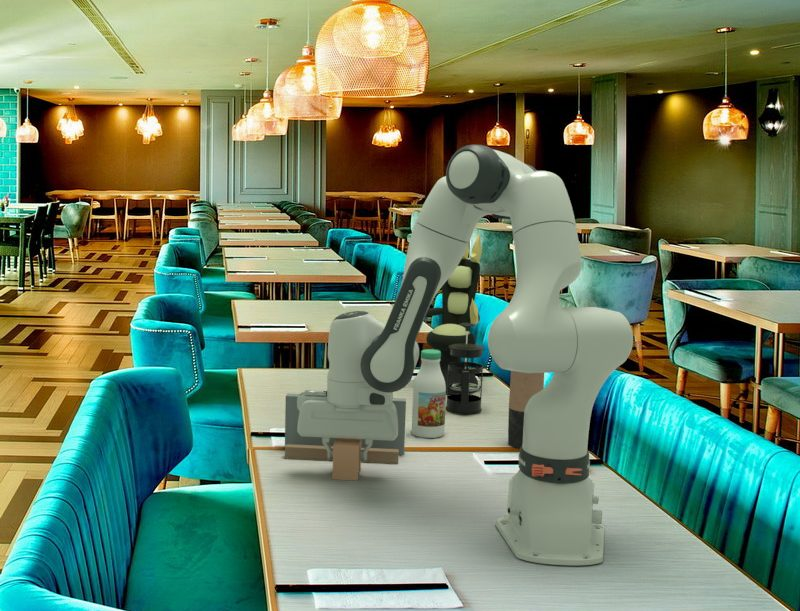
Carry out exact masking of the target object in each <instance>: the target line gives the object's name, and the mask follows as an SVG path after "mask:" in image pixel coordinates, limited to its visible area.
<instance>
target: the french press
mask: <svg viewBox="0 0 800 611" xmlns="http://www.w3.org/2000/svg"><path fill="white" fill-rule="evenodd" d="M459 325H461V326H465V331H466V344H452V345H449V348H450V349H451V353H450V354H451V355H452V356H455V357H461V359H462V358H463V359H464V361H462V362H452V363H449V364H448V383H447V394H446V405H445V412H448V413H451V414H453V415H460V416H461V415H462V416H473V415H478V414H480V413H482V411H483V409H482V397H483V396H482V392H483V372H484V366H483V364H482V363H478V362H472V361H467V359H475V358H480V357H482V356H483V354H482V353H483V351H484V349H485V347H484V346H483V345H479V344H476V343H475V344H467V339H468V331H469V326H471V327H476V324H473V323H460V324H459ZM455 367H462V368H455ZM468 368H469V369H468ZM449 371H451V372H454V373H460V374H461V383H452V384H449ZM470 374H474V375H477V374H480V385H479V384H478V385H477V384H472V383H469V375H470ZM448 384H449V385H448ZM448 386H449V389H451V390H454V391H458V392H461V394H448ZM479 391H480V396H478V395H475V394H470V393H474V392H479Z"/></svg>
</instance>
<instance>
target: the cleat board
mask: <svg viewBox="0 0 800 611" xmlns="http://www.w3.org/2000/svg"><path fill="white" fill-rule="evenodd" d="M299 394H300V393H286V395H285V405H284V406H285V410H284V411H285V412H284V413H285V416H284V418H285V419H284V421H285V422H284V423H285V424H284V459H288V460H289V459H290V460H291V459H292V460H293V459H294V460H310V461H311V460H312V461H332V462H333V459H327V450H326V448H325V446H324V445H323V443H322V437H303V436H300V434H299V433H298V432H297V427H298V418H299V413H300V411H299V410H298V408H297V397H298V395H299ZM303 395H305V394H303ZM313 396H314V395H313ZM392 402H393V403H394V405H395V406H396V410H397V417H398V436H397V438H396V439H395V440H393V441H391V440H373V443H372V446H371V447H370V449H369V450H368V452H367V460H361V463H373V464H374V463H375V464H376V463H379V464H399V456H405V445H406V444H405V443H406V442H405V441H406V439H405V437H406V414H407V413H406V412H407V398H403V397H402V398H397V397H393V400H392ZM335 439H336V438H330V441H329V444H330V446H331V448H333V444H334V442H335ZM366 446H367V444H365V439H361V450H364V449H365V447H366Z"/></svg>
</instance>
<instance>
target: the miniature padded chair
mask: <svg viewBox="0 0 800 611" xmlns="http://www.w3.org/2000/svg"><path fill="white" fill-rule="evenodd" d="M469 247H470V245H469V244H468V247H467V249H466V251H465V253H464V255H463V257H462V259H461V261H460V262H459V264H458V266H457V267H456V269H455V270H454V272H453V273H452V275H451V276H450V277H449V279H448V280H447V281H446V282H445V283H444V285H443V286H442V287H441V297H442V298H441V301H442V302H441V304H442V306H441V307H432V308H431V307H429V308H428V311H427V313H426V316H425V318H428V317H429V318H430V317H434V316H435V317H436V316H441V325H438V326H436V327H435V328H433V329H432V330H431V331H429V332H427V335H426V338H425V340H426V343H427V345H428V346H429V347H430V348H432V349H433V350H439V351H440V352H441V358H440V359H441V360H440V362H439V363H440V369H441V372H442V374H443V377H444V380H445V385H446V395H447V383H448V364H449V363H452V362H463V361H462V358H461V357H455V356H452V355H451V354H450V353H451V349H450V348H449V345H452V344H466V331H465V326H461V325H459V324H460V323H473V324H475V325H477V324H479V322H480V318H481V317H480V313H479V311H478V309H479V308H478V306H477V305H476V302H475V300H476V295H477V289H478V284H479V280H480V273H481V266H480V260H481V257H482V251H483V248H482V243H481V232H479V233H478V234H477V237H476V239H475V241H474V242H473V246H472V248H471V255H470V259H469V258H468V257H469V253H470V248H469ZM471 327H472V326H469V331H468V339H467V344H475V345H476V337H475V335H474V334H473V333H472V332H471ZM455 368H462V367H455ZM468 369H470V367H468ZM478 381H479V380H478V378H477V377H476V374H470V375H469V383H472V384H477V385H479V382H478ZM452 383H461V374H460V373H454V372H451V371H449V384H452ZM449 384H448V385H449ZM452 394H461V392H458V391H454V390H451V389H449V386H448V395H452Z"/></svg>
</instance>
